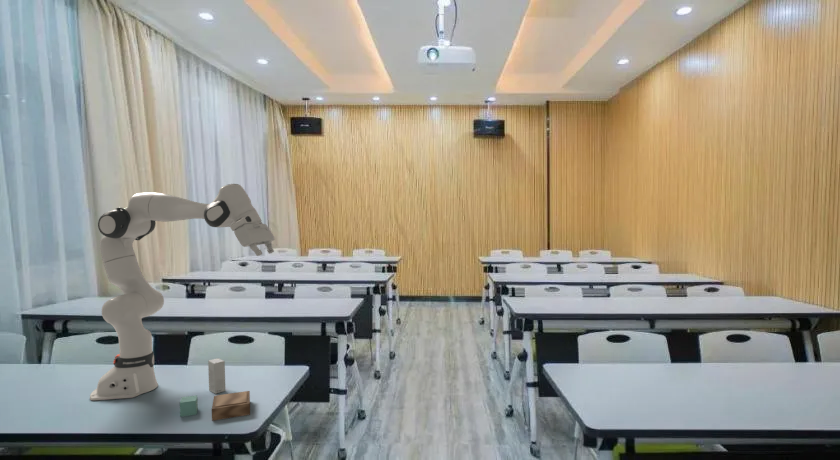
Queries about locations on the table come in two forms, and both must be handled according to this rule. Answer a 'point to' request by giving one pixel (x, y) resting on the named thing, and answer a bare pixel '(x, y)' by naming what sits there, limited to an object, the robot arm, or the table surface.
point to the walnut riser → (231, 405)
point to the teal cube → (188, 406)
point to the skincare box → (216, 375)
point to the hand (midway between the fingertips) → (265, 254)
